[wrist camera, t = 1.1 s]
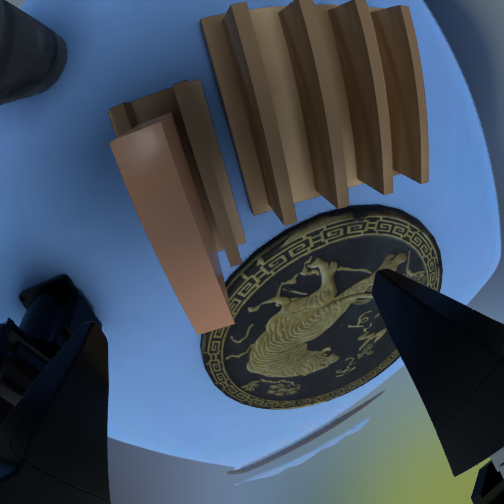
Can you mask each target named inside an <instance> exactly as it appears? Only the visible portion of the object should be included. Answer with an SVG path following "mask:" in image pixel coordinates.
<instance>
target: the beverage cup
mask: <svg viewBox="0 0 504 504" xmlns="http://www.w3.org/2000/svg"><path fill="white" fill-rule="evenodd" d="M66 60H67V49H66V44H65V42H64V41H63V40H62V38H61V37H59V36H58V35H56V33H55V32H54V31H52V30H51V29H49V28H48V27H46V26H45V25H43V24H42V23H40V22H39V21H37V20H36V19H34V18H33V17H31V16H30V15H28V14H27V13H25V12H23V11H22V10H20V9H19V8H17V7H15V6H14V5H12V4H10V3H9V2H7V1H5V0H0V105H2V104H5V103H9V102H12V101H15V100H19V99H22V98H26V97H29V96H32V95H34V94H37V93H42V92H43V91H45V90H47V89H48V88H50V87H51V86H52V85H53V84H54V83H55V82H56V81H57V80H58V78H59V77H60V75H61V73H62V72H63V69H64V67H65V64H66Z"/></svg>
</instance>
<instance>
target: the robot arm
mask: <svg viewBox="0 0 504 504" xmlns="http://www.w3.org/2000/svg"><path fill="white" fill-rule="evenodd" d="M62 280H64V281H65V282H63V281H62ZM372 296H373V298H374V301H375V303H376V305H377V307H378V310H379V312H380V315H381V317H382V319H383V322H384V324H385V326H386V329H387V331H388V333H389V335H390V337H391V339H392V341H393V343H394V345H395V347H396V348H397V350H398V352H399V354H400V356H401V358H402V360H403V362H404V364H405V366H406V368H407V370H408V372H409V374H410V376H411V378H412V380H413V382H414V384H415V386H416V388H417V390H418V392H419V394H420V397H421V398H422V401H423V403H424V405H425V407H426V409H427V412H428V414H429V416H430V418H431V421H432V423H433V425H434V427H435V430H436V432H437V435H438V437H439V440H440V442H441V445H442V447H443V449H444V452H445V455H446V457H447V459H448V462H449V464H450V467H451V470H452V473H453V475H454V476H455V477H456V476H458V475H459V474H461V473H463V472H465V471H467V470H468V469H470V468H472V467H473V466H475V465H477V464H478V463H480V462H482V461H483V460H485V459H487V458H488V457H490V458H491V460H490V461H489V462H488V463H487V464H485V465H484V466H483V467H482V468H481V469H480V470H479V472H478V476H477V479H476V483H475V486H474V490H473V493H472V496H471V499H472V502H473V504H504V324H502V323H500V322H498V321H495V320H493V319H491V318H489V317H487V316H485V315H483V314H481V313H479V312H477V311H476V310H473V309H471V308H469V307H468V306H466V305H464V304H462V303H460V302H458V301H456V300H454V299H452V298H450V297H448V296H446V295H444V294H441V293H439V292H437V291H435V290H433V289H431V288H429V287H427V286H425V285H423V284H421V283H419V282H417V281H414V280H412V279H410V278H408V277H406V276H404V275H402V274H400V273H397V272H395V271H393V270H391V269H389V268H385V269H381V270H378V271H377V272H376V273H375V277H374V282H373V287H372ZM19 299H20V301H21V302H22V304H23V305H24V307H25V308H26V309H27V311H26V313H25V315H24V317H23V319H22V321H21V324H20V326H19V327H18V326H17V325H15V324H14V321H12V320H11V319H10V318H8V320H7V321H6V323H5V324H4V323H3V324H0V504H111V502H110V493H109V479H108V478H109V477H108V457H107V456H108V454H107V421H108V395H109V373H108V341H107V338H106V337H105V335H104V333H103V331H102V330H101V329H102V325H101V324H100V323H99V321H98V320H97V318H96V317H95V315H94V314H93V312H92V311H91V310H90V308H89V307H88V305H87V304H86V302H85V301H84V300H83V298H82V297H81V296H80V294H79V293H78V291H77V290H76V288H75V287H74V285H73V284H72V282H71V281H70V279H69V278H68V276H66V275H61V276H58V277H56V278H54V279H51V280H49V281H46V282H44V283H41V284H39V285H37V286H34V287H32V288H29V289H27V290H25V291H22V292H21V293H20V295H19Z"/></svg>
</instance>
